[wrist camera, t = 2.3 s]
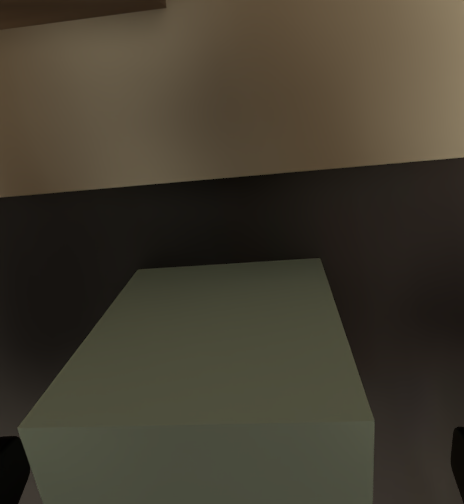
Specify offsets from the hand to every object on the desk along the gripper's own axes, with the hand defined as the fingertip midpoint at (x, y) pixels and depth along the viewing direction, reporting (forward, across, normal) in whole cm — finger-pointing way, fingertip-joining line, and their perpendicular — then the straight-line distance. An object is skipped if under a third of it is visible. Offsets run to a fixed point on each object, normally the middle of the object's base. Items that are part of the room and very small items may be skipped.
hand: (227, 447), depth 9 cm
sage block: (+4, 0, 0) cm, 4 cm away
